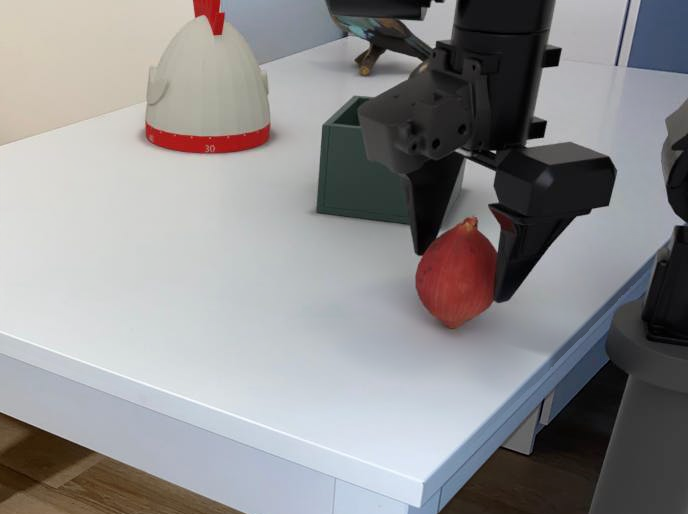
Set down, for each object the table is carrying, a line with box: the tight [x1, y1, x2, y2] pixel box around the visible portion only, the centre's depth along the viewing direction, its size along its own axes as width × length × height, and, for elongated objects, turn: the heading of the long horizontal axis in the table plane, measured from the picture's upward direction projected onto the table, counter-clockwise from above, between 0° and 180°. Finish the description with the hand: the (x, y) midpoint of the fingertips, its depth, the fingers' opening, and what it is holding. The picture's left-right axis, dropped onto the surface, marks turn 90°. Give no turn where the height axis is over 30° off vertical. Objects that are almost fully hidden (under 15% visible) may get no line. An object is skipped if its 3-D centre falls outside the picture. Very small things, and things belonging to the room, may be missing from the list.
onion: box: [414, 215, 498, 329], centre depth 69 cm, size 6×6×8 cm
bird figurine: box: [324, 0, 433, 77], centre depth 134 cm, size 13×10×20 cm
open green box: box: [315, 94, 467, 227], centre depth 91 cm, size 11×11×8 cm
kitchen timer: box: [144, 0, 271, 154], centre depth 106 cm, size 14×14×15 cm
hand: (459, 277), depth 69 cm, fingers open, 9 cm apart
